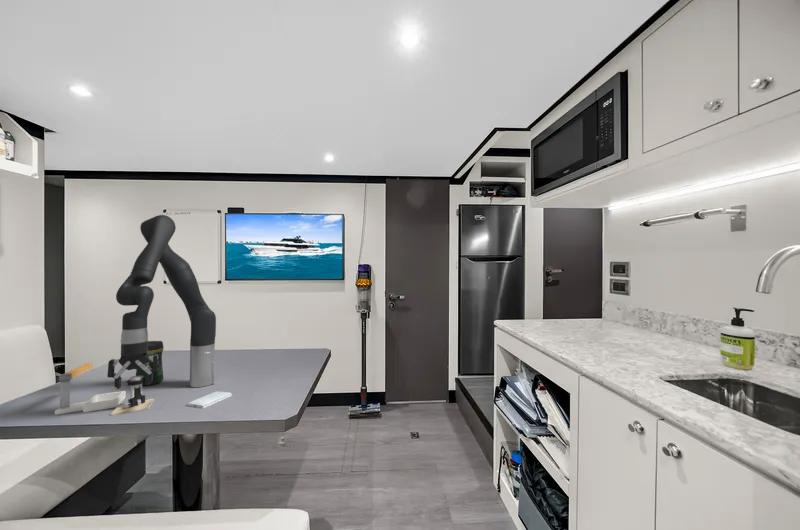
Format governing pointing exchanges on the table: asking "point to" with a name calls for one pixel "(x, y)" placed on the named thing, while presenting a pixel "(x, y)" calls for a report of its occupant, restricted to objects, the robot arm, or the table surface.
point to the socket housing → (90, 405)
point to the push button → (136, 391)
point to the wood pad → (140, 407)
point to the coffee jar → (153, 349)
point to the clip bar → (75, 372)
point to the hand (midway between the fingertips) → (133, 386)
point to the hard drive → (209, 399)
